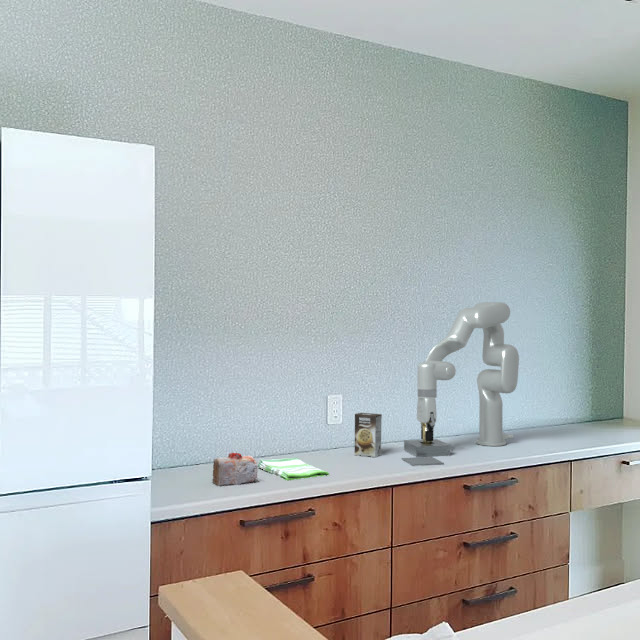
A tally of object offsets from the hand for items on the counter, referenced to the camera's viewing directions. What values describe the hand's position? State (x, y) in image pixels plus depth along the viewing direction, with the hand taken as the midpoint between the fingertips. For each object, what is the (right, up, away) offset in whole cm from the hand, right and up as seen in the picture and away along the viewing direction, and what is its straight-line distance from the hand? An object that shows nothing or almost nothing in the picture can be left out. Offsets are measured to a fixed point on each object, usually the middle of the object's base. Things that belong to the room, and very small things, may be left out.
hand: (427, 439), depth 282 cm
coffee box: (-24, -6, -5) cm, 25 cm away
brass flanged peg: (0, -5, 0) cm, 5 cm away
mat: (-4, -5, -18) cm, 19 cm away
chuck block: (0, -5, 0) cm, 5 cm away
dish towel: (-52, -6, -34) cm, 62 cm away
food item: (-70, -6, -51) cm, 87 cm away
